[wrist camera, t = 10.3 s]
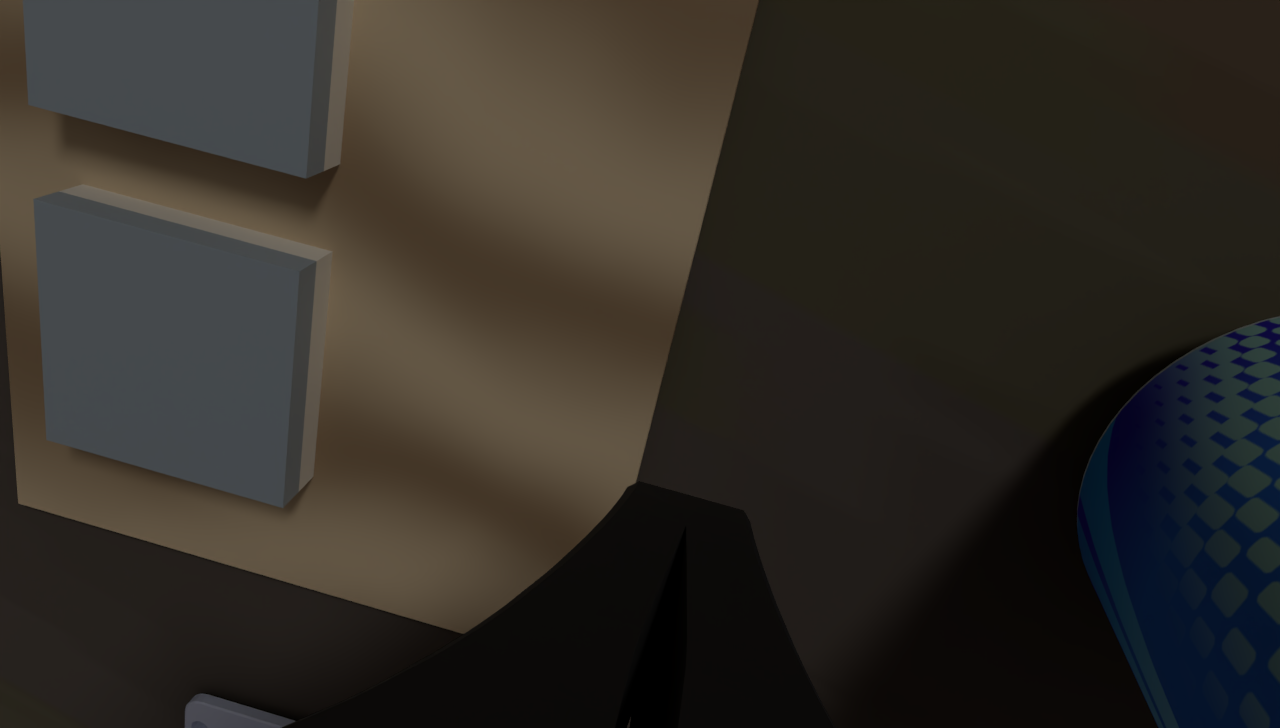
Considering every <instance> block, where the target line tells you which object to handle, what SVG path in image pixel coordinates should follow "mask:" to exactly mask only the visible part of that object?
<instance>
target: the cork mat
mask: <svg viewBox="0 0 1280 728" xmlns="http://www.w3.org/2000/svg"><path fill="white" fill-rule="evenodd" d="M758 4H759V0H354V8H353V19H352V31H351V43H350V54H349V66H348V78H347V90H346V101H345V113H344V125H343V136H342V148H341V160H340V165H337V166H335V167H333V168H330V169H328V170H325V171H323V172H321V173H318V174H316V175H314V176H311V177H309V178H307V179H306V178H302V177H298V176H294V175H291V174H287V173H283V172H279V171H275V170H272V169H268V168H264V167H260V166H257V165H253V164H249V163H245V162H242V161H238V160H234V159H230V158H226V157H223V156H219V155H215V154H211V153H208V152H204V151H200V150H196V149H193V148H189V147H185V146H181V145H177V144H174V143H170V142H166V141H162V140H159V139H155V138H151V137H147V136H144V135H140V134H136V133H132V132H128V131H125V130H121V129H117V128H113V127H110V126H106V125H102V124H98V123H95V122H91V121H87V120H83V119H79V118H76V117H72V116H68V115H64V114H61V113H57V112H53V111H49V110H46V109H42V108H38V107H34V106H30V105H28V88H27V70H26V51H25V32H24V14H23V0H0V251H1V265H2V279H3V294H4V308H5V322H6V336H7V350H8V364H9V378H10V393H11V407H12V421H13V435H14V449H15V463H16V477H17V492H18V503H19V504H22V505H25V506H29V507H32V508H36V509H39V510H43V511H46V512H49V513H53V514H56V515H60V516H63V517H66V518H70V519H73V520H77V521H80V522H83V523H87V524H90V525H94V526H97V527H100V528H104V529H107V530H111V531H114V532H118V533H121V534H124V535H128V536H131V537H135V538H138V539H141V540H145V541H148V542H152V543H155V544H158V545H162V546H165V547H169V548H172V549H175V550H179V551H182V552H186V553H189V554H193V555H196V556H199V557H203V558H206V559H210V560H213V561H216V562H220V563H223V564H227V565H230V566H233V567H237V568H240V569H244V570H247V571H250V572H254V573H257V574H261V575H264V576H268V577H271V578H274V579H278V580H281V581H285V582H288V583H291V584H295V585H298V586H302V587H305V588H308V589H312V590H315V591H319V592H322V593H325V594H329V595H332V596H336V597H339V598H343V599H346V600H349V601H353V602H356V603H360V604H363V605H366V606H370V607H373V608H377V609H380V610H383V611H387V612H390V613H394V614H397V615H400V616H404V617H407V618H411V619H414V620H418V621H421V622H424V623H428V624H431V625H435V626H438V627H441V628H445V629H448V630H452V631H455V632H458V633H462V634H465V633H466V632H468V631H469V630H471V629H472V628H474V627H475V626H477V625H478V624H480V623H481V622H482V621H484V620H485V619H487V618H488V617H490V616H491V615H492V614H494V613H495V612H497V611H498V610H499V609H501V608H502V607H503V606H505V605H506V604H507V603H509V602H510V601H511V600H512V599H514V598H515V597H516V596H517V595H519V594H520V593H521V592H523V591H524V590H525V589H526V588H528V587H529V586H530V585H531V584H533V583H534V582H535V581H536V580H538V579H539V578H540V577H541V576H543V575H544V574H545V573H546V572H548V571H549V570H550V569H551V568H552V567H553V566H554V565H556V564H557V563H558V562H559V561H560V560H561V559H562V558H563V557H564V556H565V555H566V554H567V553H568V552H570V551H571V550H572V549H573V548H574V547H575V546H576V545H577V544H578V543H579V542H580V541H581V540H582V539H583V538H585V537H586V536H587V535H588V534H589V533H590V532H591V531H592V529H593V528H594V527H595V526H596V525H597V524H598V523H599V522H600V521H601V520H602V519H603V518H604V517H605V516H606V514H607V513H608V512H609V511H610V510H611V509H612V508H613V506H614V505H615V504H616V503H617V501H618V500H619V499H620V497H621V496H622V495H623V493H624V491H625V490H626V488H627V487H628V486H630V485H632V484H634V483H636V481H637V477H638V473H639V469H640V466H641V462H642V458H643V454H644V450H645V446H646V442H647V438H648V434H649V430H650V426H651V423H652V419H653V415H654V411H655V407H656V403H657V399H658V395H659V391H660V387H661V383H662V379H663V376H664V372H665V368H666V364H667V360H668V356H669V352H670V348H671V344H672V340H673V336H674V333H675V329H676V325H677V321H678V317H679V313H680V309H681V305H682V301H683V297H684V293H685V289H686V286H687V282H688V278H689V274H690V270H691V266H692V262H693V258H694V254H695V250H696V246H697V243H698V239H699V235H700V231H701V227H702V223H703V219H704V215H705V211H706V207H707V203H708V200H709V196H710V192H711V188H712V184H713V180H714V176H715V172H716V168H717V164H718V160H719V156H720V153H721V149H722V145H723V141H724V137H725V133H726V129H727V125H728V121H729V117H730V113H731V110H732V106H733V102H734V98H735V94H736V90H737V86H738V82H739V78H740V74H741V70H742V66H743V63H744V59H745V55H746V51H747V47H748V43H749V39H750V35H751V31H752V27H753V23H754V20H755V16H756V12H757V8H758ZM82 184H84V185H88V186H91V187H95V188H99V189H103V190H106V191H110V192H114V193H117V194H121V195H125V196H129V197H132V198H136V199H140V200H143V201H147V202H151V203H154V204H158V205H162V206H166V207H169V208H173V209H177V210H180V211H184V212H188V213H192V214H195V215H199V216H203V217H206V218H210V219H214V220H217V221H221V222H225V223H229V224H232V225H236V226H240V227H243V228H247V229H251V230H255V231H258V232H262V233H266V234H269V235H273V236H277V237H280V238H284V239H288V240H292V241H295V242H299V243H303V244H306V245H310V246H314V247H318V248H321V249H325V250H329V251H332V252H333V253H332V265H331V276H330V288H329V300H328V311H327V323H326V335H325V347H324V358H323V370H322V382H321V394H320V405H319V417H318V429H317V440H316V452H315V464H314V476H313V478H312V479H311V480H310V481H309V482H308V483H307V484H306V485H305V486H304V487H303V488H302V489H301V490H300V491H299V492H298V493H297V494H296V495H295V496H294V497H293V498H292V499H291V500H290V501H289V502H288V503H287V504H286V505H285V507H284V508H281V507H277V506H274V505H270V504H267V503H263V502H260V501H256V500H253V499H249V498H246V497H242V496H239V495H236V494H232V493H229V492H225V491H222V490H218V489H215V488H211V487H208V486H204V485H201V484H197V483H194V482H190V481H187V480H184V479H180V478H177V477H173V476H170V475H166V474H163V473H159V472H156V471H152V470H149V469H145V468H142V467H138V466H135V465H132V464H128V463H125V462H121V461H118V460H114V459H111V458H107V457H104V456H100V455H97V454H93V453H90V452H86V451H83V450H79V449H76V448H73V447H69V446H66V445H62V444H59V443H55V442H52V441H48V440H46V423H45V405H44V386H43V368H42V349H41V330H40V312H39V293H38V275H37V256H36V238H35V219H34V201H33V199H35V198H39V197H42V196H45V195H49V194H52V193H55V192H59V191H62V190H65V189H69V188H72V187H75V186H79V185H82Z"/></svg>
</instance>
